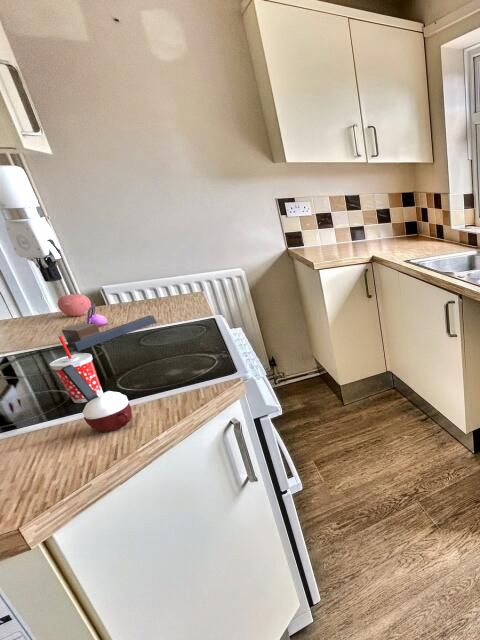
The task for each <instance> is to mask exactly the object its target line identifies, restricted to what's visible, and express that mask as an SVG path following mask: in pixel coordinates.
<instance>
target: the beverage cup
mask: <svg viewBox="0 0 480 640" xmlns="http://www.w3.org/2000/svg"><path fill="white" fill-rule="evenodd" d="M58 339H59V341H60V343H61V346H62V347H63V350H64V352H65V354H66V356H62V357H59V358H57V359H56V358H55V360H53V361H51V362H50V363H49V364H48V365H49V366H50V368H51V369H52V370H54V372H55V373H56V375H57V377H58V378H59V380H60V382H61V383H62V385H63V387H64V388H65V390H66V392H67V393H68V395H69V397H70V399H71V400H72V402H73V403H75V404H82V403H88V401H87V400H86V399H85V398H84V397H83V395H82V394H81V393H80V392H79V391H78V389H77V388H76V387H75V386H74V385H73V383H72V382H71V381H70V380H69V379H68V377H67V376H66V375H65V374H64V373H63V371H62V370H61V369H62V368H63V367H66V366H68V365H73V366H74V368H75V369H76V370H77V371H78V373H79V374H80V375H81V376H82V377H83V379H84V380H85V381H86V382H87V383H88V385H89V386H90V387H91V388H92V389H93V391H94V392H95V393H96V394H97V396H98V397H100V396H101V395H102V394H103V393H104V391H103V388H102V386H101V385H102V384H101V383H100V379H99V377H98V374H97V371H96V368H95V365H94V362H93V355H92V354H91V353H86V352H84V353H76V354H71V353H70V350H69V349H68V345H67V344H66V342H65V340H64V338H63V336H62V335H59V336H58Z"/></svg>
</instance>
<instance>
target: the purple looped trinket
mask: <svg viewBox="0 0 480 640" xmlns="http://www.w3.org/2000/svg"><path fill="white" fill-rule="evenodd" d="M85 315H86V316H87V317H86V320H85V324H97V326H105V324H106V325H111V323H110V322H108V319H107V318H106V317H105V316H103V315H101V314H99V313H96V302H95V303H94V302H93V303H92V304H91V307H90V308H89V310H88V311H85Z"/></svg>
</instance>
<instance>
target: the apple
mask: <svg viewBox="0 0 480 640" xmlns="http://www.w3.org/2000/svg"><path fill="white" fill-rule="evenodd" d="M91 306H92V302H91V299H90V298H89V297H88V296H86V295H85V294H82V293H72V292H70V294H65V295H62V296H61V297H59V298H58V300H57V307H58V309H59V310H60V311H61V312H62V313H63V314H65V315H67V316H69V317H73V318H74V317H82V316H85V315H86V314H85V311H88V310H89V308H90V307H91Z"/></svg>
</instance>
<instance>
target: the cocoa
mask: <svg viewBox="0 0 480 640" xmlns="http://www.w3.org/2000/svg"><path fill="white" fill-rule="evenodd" d="M61 370H62V371H63V373H64V374H65V375H66V376H67V377H68V379H69V380H70V381H71V382H72V383H73V385H74V386H75V387H76V388H77V389H78V391H79V392H80V393H81V394H82V395H83V397H84V398H85V399H86V400H87V401H88V402H86V404H85V406H84V408H83V410H82V414H83V419H84V421H85V422H86V424H87V425H88V426H89V427H90V428H92V429H93V430H95V431H97V432H99V433H109V432H114V431H117V430H120V429H122V428H123V427H125V426H127V424H129V423H130V422H131V420H132V416H133V413H132V407H131V404H130V402H129V399H128V397H127V395H125V394H122V393H121V392H118V391H111V390H106V391H105V392H103V394H102V395H101V396H100V397H98V396H97V394H96V393H95V392H94V391H93V389H92V388H91V387H90V386H89V385H88V383H87V382H86V381H85V380H84V379H83V377H82V376H81V375H80V374H79V373H78V371H77V370H76V369H75V368H74V366H73V365H68V366H66V367H63V368H62V369H61Z"/></svg>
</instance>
